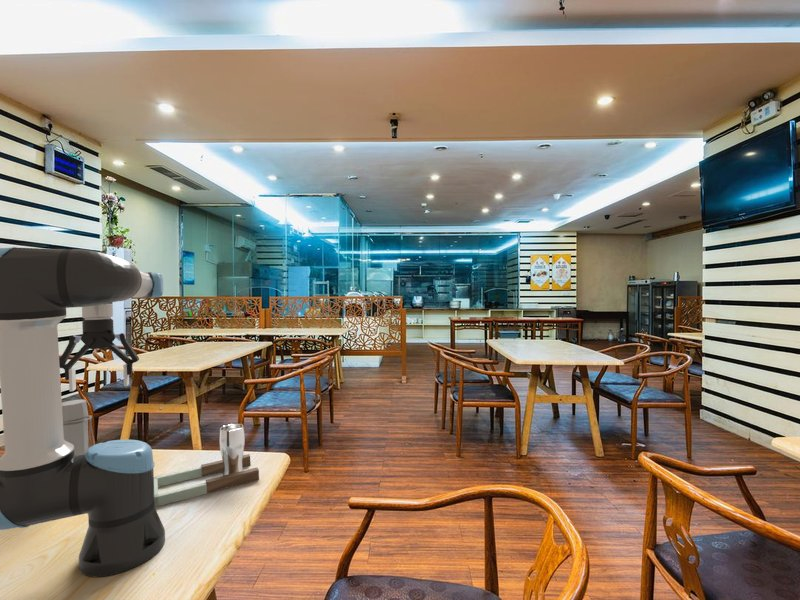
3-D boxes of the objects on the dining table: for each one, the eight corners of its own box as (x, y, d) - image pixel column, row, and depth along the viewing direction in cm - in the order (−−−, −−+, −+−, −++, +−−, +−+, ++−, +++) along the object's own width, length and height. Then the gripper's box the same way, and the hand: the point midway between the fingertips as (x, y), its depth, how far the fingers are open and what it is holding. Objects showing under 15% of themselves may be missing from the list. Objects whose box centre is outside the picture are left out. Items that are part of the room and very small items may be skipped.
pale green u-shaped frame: (206, 493, 110) (206, 484, 110) (151, 507, 103) (151, 498, 103) (201, 474, 122) (201, 466, 122) (151, 486, 115) (151, 477, 115)
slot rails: (259, 479, 117) (258, 469, 117) (206, 493, 110) (206, 482, 110) (249, 463, 129) (248, 454, 129) (201, 474, 122) (201, 464, 122)
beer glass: (249, 471, 123) (248, 423, 123) (238, 482, 116) (236, 431, 116) (228, 470, 124) (226, 423, 124) (215, 481, 117) (214, 431, 117)
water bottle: (62, 497, 109) (58, 407, 109) (54, 489, 114) (51, 403, 114) (102, 484, 117) (99, 400, 116) (93, 477, 121) (90, 396, 121)
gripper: (148, 316, 129) (150, 381, 129) (51, 319, 120) (54, 389, 120) (143, 317, 122) (145, 385, 122) (40, 321, 113) (43, 395, 113)
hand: (100, 388), depth 121 cm, fingers open, 13 cm apart
